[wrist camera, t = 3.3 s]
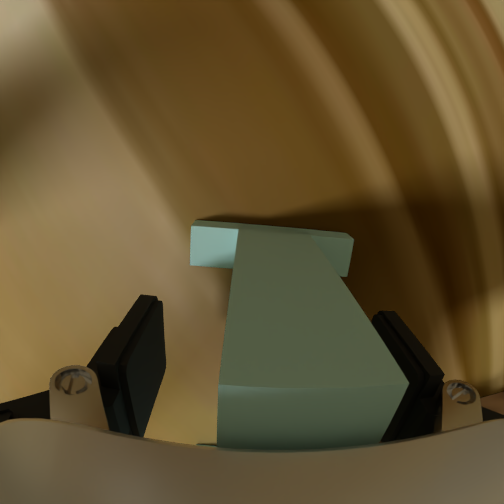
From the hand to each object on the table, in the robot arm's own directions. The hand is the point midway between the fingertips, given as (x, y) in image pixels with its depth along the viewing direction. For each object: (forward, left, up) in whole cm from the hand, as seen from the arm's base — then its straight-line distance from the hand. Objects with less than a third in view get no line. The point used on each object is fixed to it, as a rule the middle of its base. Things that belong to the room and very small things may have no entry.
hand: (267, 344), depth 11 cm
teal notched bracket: (+4, 0, -3) cm, 5 cm away
